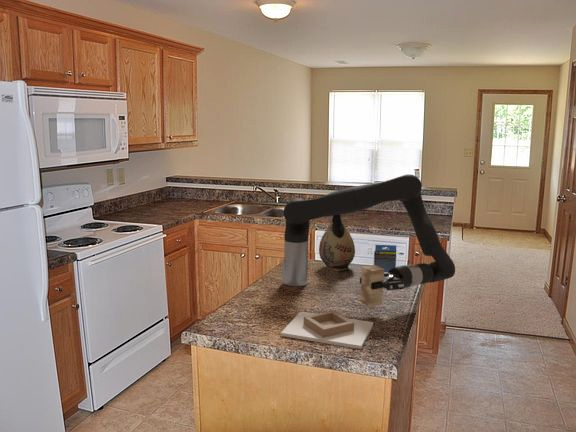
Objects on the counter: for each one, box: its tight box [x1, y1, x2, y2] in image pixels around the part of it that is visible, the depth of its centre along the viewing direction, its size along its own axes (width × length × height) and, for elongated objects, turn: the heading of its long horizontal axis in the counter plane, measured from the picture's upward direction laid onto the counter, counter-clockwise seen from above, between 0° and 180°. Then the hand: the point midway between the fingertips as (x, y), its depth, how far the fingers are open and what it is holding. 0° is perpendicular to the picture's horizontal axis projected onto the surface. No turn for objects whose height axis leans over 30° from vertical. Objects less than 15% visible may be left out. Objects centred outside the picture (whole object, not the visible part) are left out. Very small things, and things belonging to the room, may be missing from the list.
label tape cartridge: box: [373, 244, 397, 272], centre depth 212 cm, size 9×4×12 cm, turn 85°
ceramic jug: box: [318, 214, 356, 272], centre depth 214 cm, size 17×15×30 cm
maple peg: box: [360, 264, 384, 308], centre depth 164 cm, size 5×5×12 cm
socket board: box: [280, 310, 374, 350], centre depth 153 cm, size 24×18×4 cm
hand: (366, 283), depth 162 cm, fingers closed on maple peg, 5 cm apart
